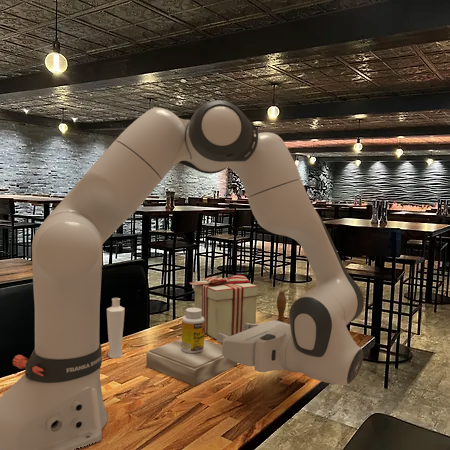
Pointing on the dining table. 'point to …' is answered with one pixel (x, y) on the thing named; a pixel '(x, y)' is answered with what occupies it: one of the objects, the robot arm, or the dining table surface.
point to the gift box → (226, 303)
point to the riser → (189, 362)
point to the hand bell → (281, 305)
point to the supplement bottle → (193, 331)
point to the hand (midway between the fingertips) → (231, 331)
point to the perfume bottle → (115, 328)
